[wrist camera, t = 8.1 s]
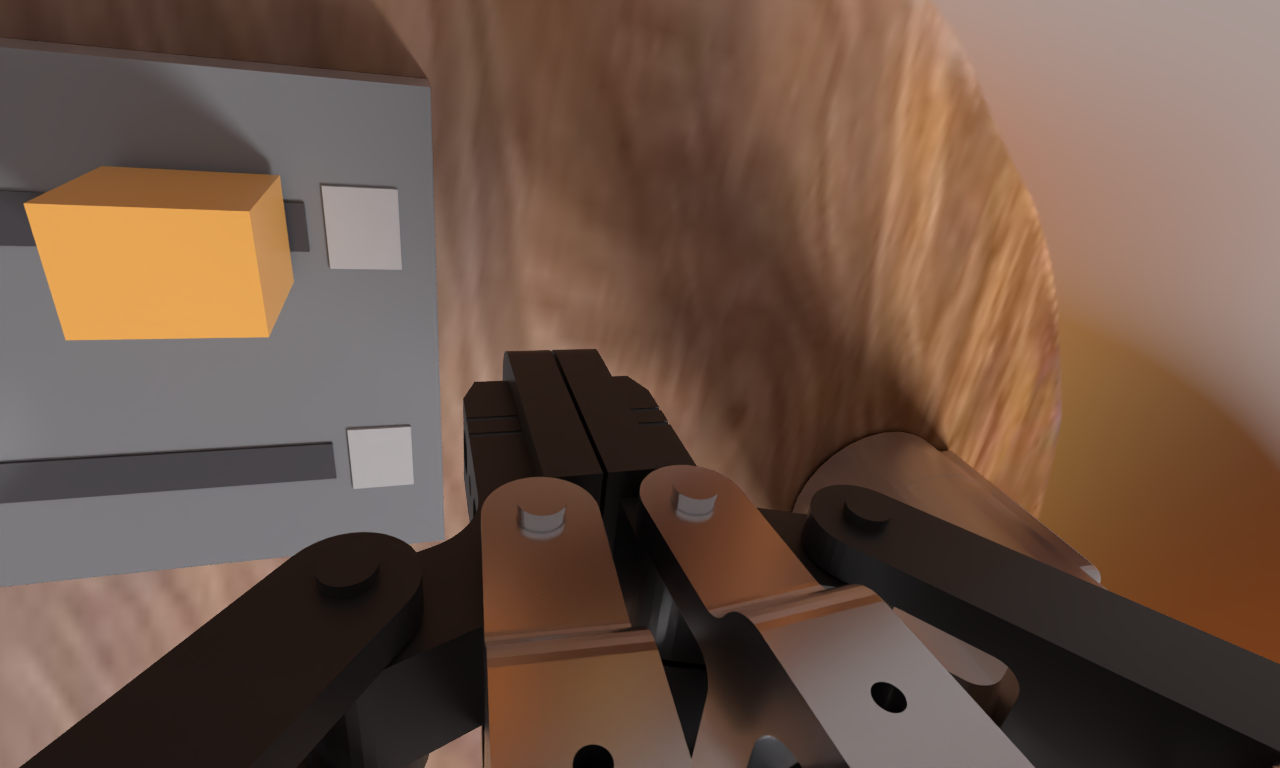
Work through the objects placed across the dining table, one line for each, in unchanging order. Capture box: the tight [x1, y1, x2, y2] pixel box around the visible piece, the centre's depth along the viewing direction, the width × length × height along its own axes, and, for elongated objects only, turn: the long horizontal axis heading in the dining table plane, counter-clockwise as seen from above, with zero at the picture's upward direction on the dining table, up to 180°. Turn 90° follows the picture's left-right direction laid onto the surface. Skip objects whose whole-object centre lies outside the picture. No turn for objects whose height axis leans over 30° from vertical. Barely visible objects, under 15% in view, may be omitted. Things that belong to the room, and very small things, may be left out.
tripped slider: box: [23, 166, 294, 340], centre depth 16 cm, size 4×3×4 cm
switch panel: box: [0, 37, 444, 587], centre depth 20 cm, size 22×16×3 cm
